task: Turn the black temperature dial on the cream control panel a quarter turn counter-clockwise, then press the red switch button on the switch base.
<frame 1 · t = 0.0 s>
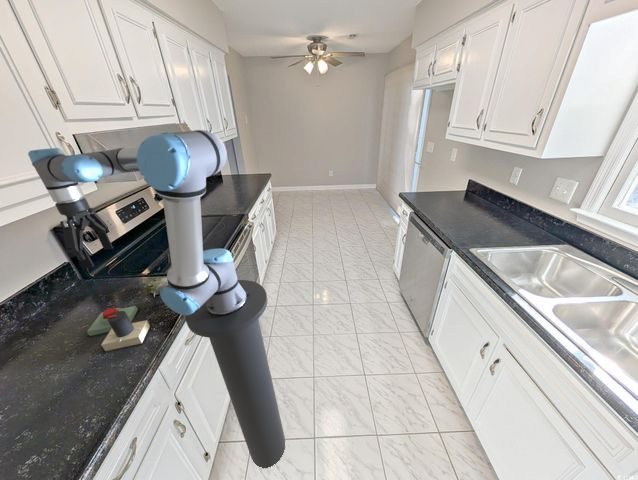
hand: (99, 257, 90), 24 cm above the worktop, tool pointing down, fingers open, 13 cm apart
switch button: (110, 313, 93), point 4 cm above the worktop, slide at 0.1 cm
mushroom: (167, 289, 112), on the worktop
switch base: (115, 322, 95), on the worktop
dial panel: (128, 338, 88), on the worktop
dial: (120, 323, 85), point 7 cm above the worktop, hinge at 0.0°
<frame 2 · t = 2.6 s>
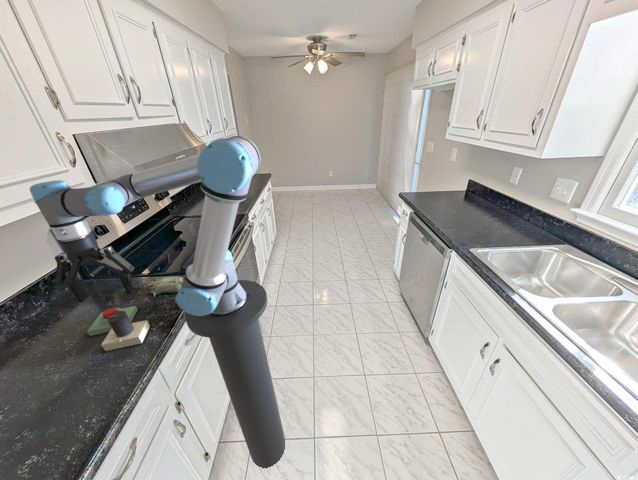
hand: (107, 295, 82), 17 cm above the worktop, tool pointing down, fingers open, 13 cm apart
nothing on the worktop moved.
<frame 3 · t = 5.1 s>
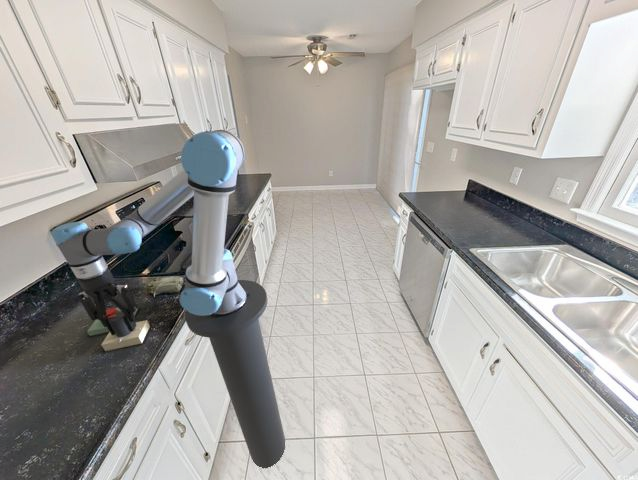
hand: (124, 330, 86), 4 cm above the worktop, tool pointing down, fingers closed on dial, 5 cm apart
dial: (120, 323, 85), point 7 cm above the worktop, hinge at 0.1°, touching gripper
everything else where it was.
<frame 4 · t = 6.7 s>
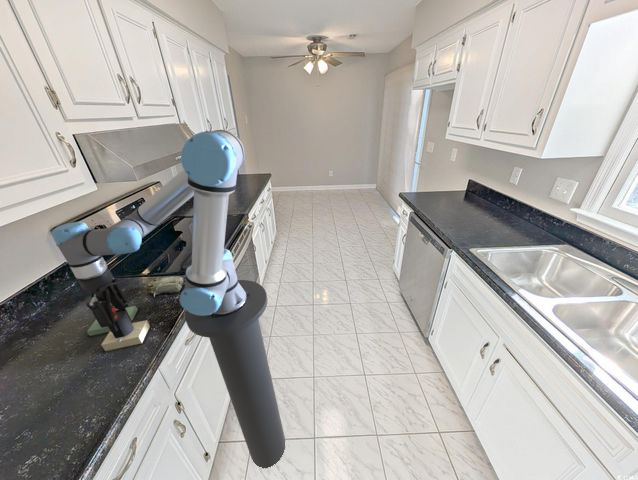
hand: (124, 330, 86), 4 cm above the worktop, tool pointing down, fingers closed on dial, 5 cm apart
dial: (120, 323, 85), point 7 cm above the worktop, hinge at 90.1°, touching gripper
everything else where it was.
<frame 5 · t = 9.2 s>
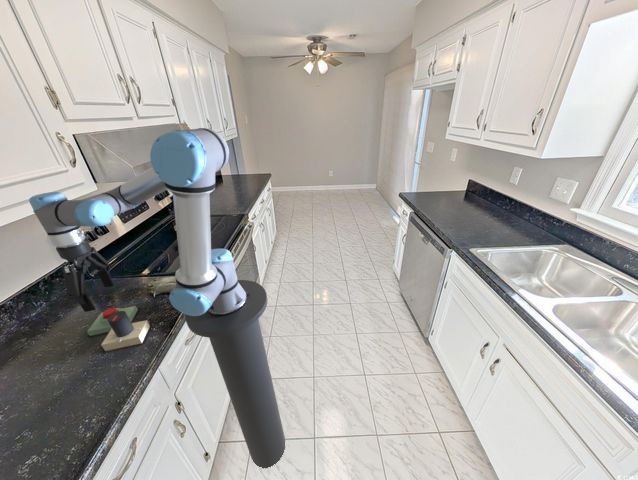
hand: (100, 297, 88), 13 cm above the worktop, tool pointing down, fingers open, 13 cm apart
dial: (120, 323, 85), point 7 cm above the worktop, hinge at 90.0°
everything else where it was.
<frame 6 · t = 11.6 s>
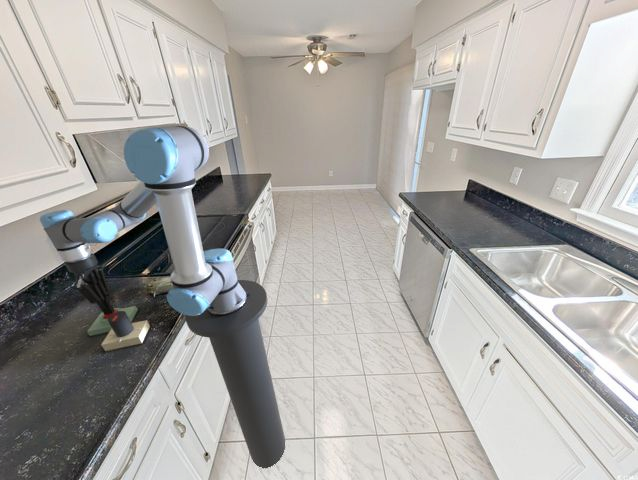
hand: (109, 312, 93), 5 cm above the worktop, tool pointing down, fingers closed
switch button: (111, 314, 94), point 4 cm above the worktop, slide at -0.7 cm, touching gripper
everything else where it was.
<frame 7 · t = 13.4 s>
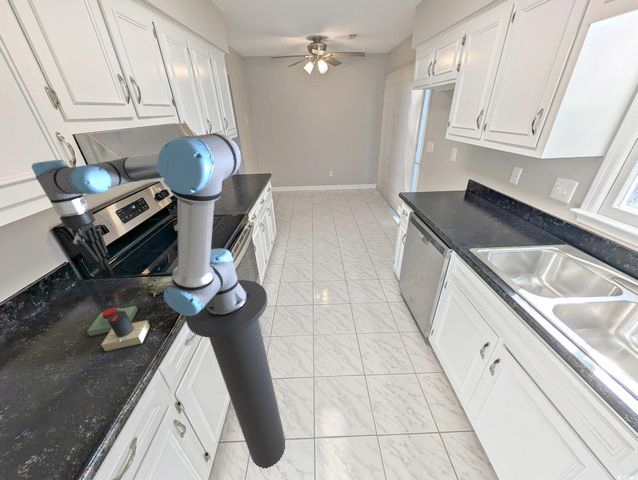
hand: (108, 276, 88), 19 cm above the worktop, tool pointing down, fingers closed
switch button: (110, 313, 93), point 4 cm above the worktop, slide at 0.1 cm
everything else where it was.
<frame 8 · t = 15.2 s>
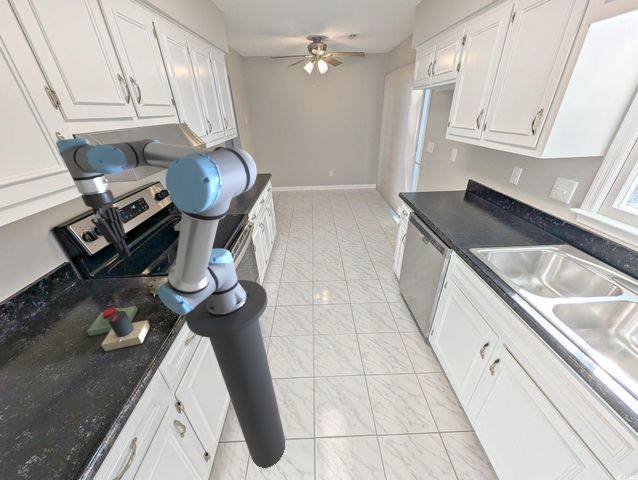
hand: (125, 256, 89), 24 cm above the worktop, tool pointing down, fingers closed
nothing on the worktop moved.
at the end: dial at +90° (first picture: +0°); switch button pushed in 1.0 cm at the most during the clip, back to where it started at the end; switch button slide at 0.1 cm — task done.
